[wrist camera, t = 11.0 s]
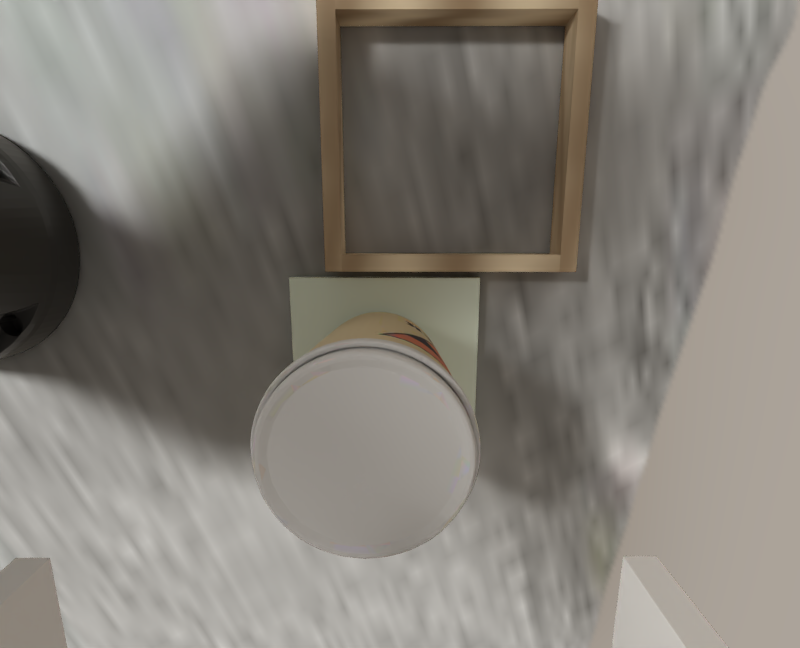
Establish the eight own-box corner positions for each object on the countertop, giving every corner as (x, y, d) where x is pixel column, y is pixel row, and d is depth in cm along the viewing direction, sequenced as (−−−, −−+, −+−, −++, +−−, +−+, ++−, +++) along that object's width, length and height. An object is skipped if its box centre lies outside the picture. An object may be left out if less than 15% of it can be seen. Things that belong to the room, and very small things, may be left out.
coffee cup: (471, 406, 29) (517, 522, 18) (342, 454, 30) (303, 595, 18) (420, 276, 28) (433, 307, 16) (285, 329, 28) (201, 398, 17)
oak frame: (330, 269, 28) (325, 271, 26) (322, 6, 25) (315, -12, 23) (564, 269, 28) (576, 271, 26) (584, 6, 25) (598, -13, 23)
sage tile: (300, 447, 31) (297, 453, 30) (292, 276, 29) (288, 277, 28) (471, 448, 31) (473, 454, 30) (478, 276, 28) (480, 278, 28)
